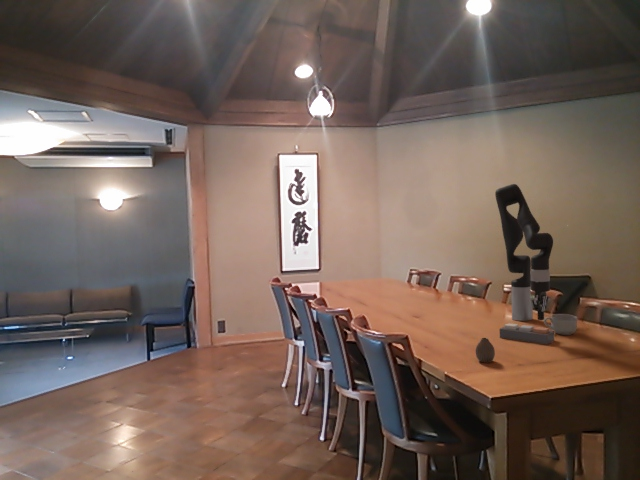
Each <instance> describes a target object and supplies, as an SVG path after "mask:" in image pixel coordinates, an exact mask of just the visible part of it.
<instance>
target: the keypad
mask: <svg viewBox="0 0 640 480" xmlns="http://www.w3.org/2000/svg"><path fill="white" fill-rule="evenodd" d="M499 338H500V339H507V340H512V341H513V340H514V341H521V342H525V343H534V344H539V345H549V344H551V343H553V342H554V341H555V331H554V330H549V333H547V334H541V333H534V330H533V331H531V332H526V331H519V328H518V329H516V330H511V329H504V326H502V327H500V328H499Z"/></svg>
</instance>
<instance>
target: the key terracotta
mask: <svg viewBox="0 0 640 480" xmlns="http://www.w3.org/2000/svg"><path fill="white" fill-rule="evenodd" d="M549 331H550V327H542V326H536V327H534V333H541V334H547V333H549Z"/></svg>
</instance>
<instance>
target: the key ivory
mask: <svg viewBox="0 0 640 480" xmlns="http://www.w3.org/2000/svg"><path fill="white" fill-rule="evenodd" d="M503 327H504V329H511V330H516V329H518V328H519V327H520V326H519V324H517V323H506V324H504V325H503Z"/></svg>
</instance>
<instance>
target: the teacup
mask: <svg viewBox="0 0 640 480" xmlns="http://www.w3.org/2000/svg"><path fill="white" fill-rule="evenodd" d="M548 320H549V321H550V324H549V323H547V321H548ZM543 323H544V325H545V326H546V327H547V328H549V329H550V330H551V331H554V333H556V334H558V335H562V336H571V335H573V334H574V333H575V332H576V331H577V329H578V328H577V327H578V316H575V315H573V314H568V313H554V314H551V316H546V317H544V320H543Z"/></svg>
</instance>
